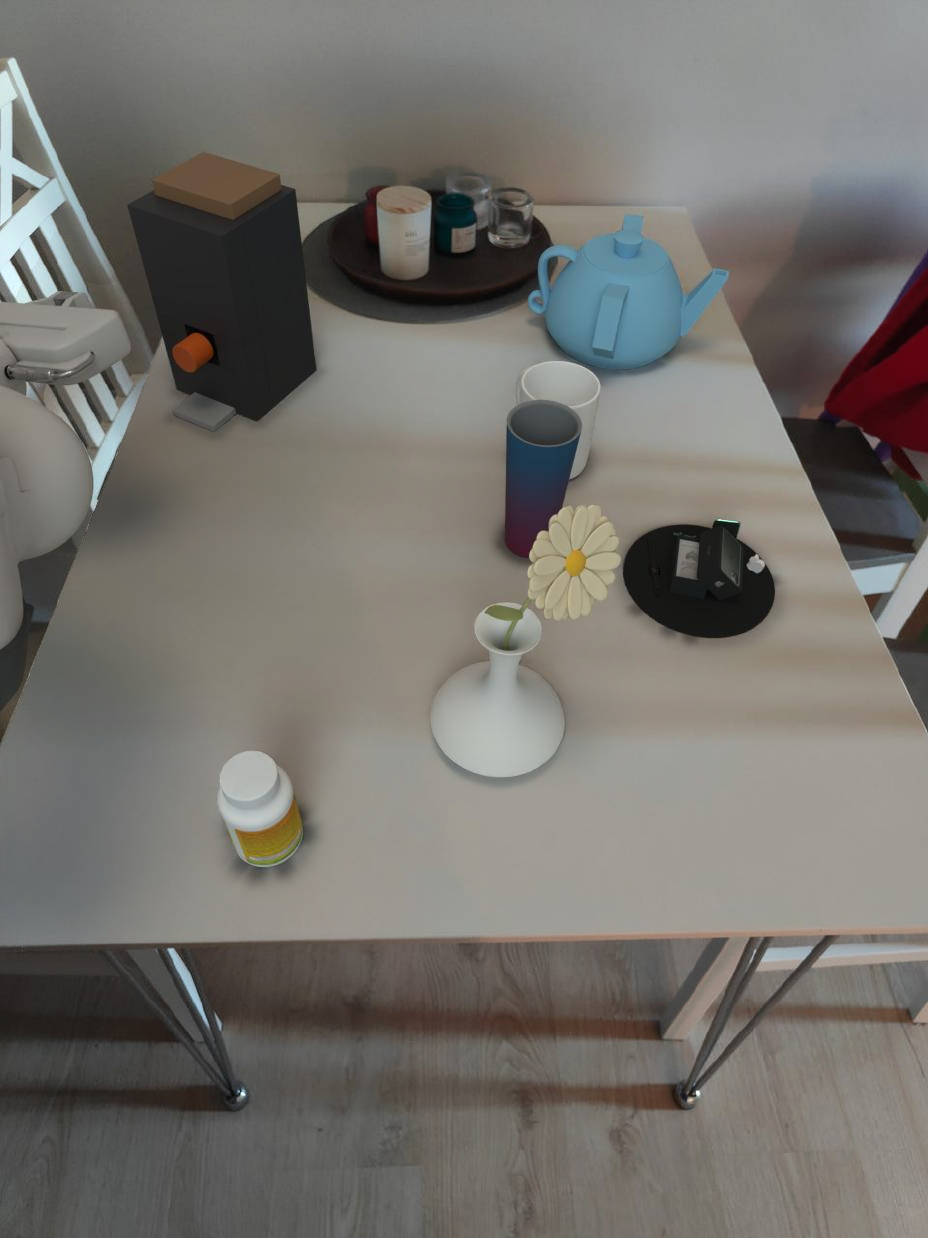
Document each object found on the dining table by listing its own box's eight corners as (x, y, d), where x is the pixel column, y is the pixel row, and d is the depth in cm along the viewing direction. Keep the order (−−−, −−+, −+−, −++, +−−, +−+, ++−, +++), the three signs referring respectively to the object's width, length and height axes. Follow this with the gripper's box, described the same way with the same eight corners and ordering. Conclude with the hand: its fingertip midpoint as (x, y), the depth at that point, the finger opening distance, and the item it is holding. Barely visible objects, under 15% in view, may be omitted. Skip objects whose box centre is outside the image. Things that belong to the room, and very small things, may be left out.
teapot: (589, 393, 104) (608, 287, 94) (510, 316, 115) (518, 213, 104) (711, 354, 111) (741, 251, 100) (625, 285, 121) (644, 185, 111)
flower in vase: (450, 801, 69) (460, 599, 49) (415, 689, 76) (412, 473, 56) (600, 764, 71) (664, 559, 52) (553, 659, 78) (595, 443, 59)
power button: (198, 376, 93) (192, 350, 91) (175, 367, 94) (169, 341, 92) (216, 362, 95) (210, 337, 93) (193, 354, 96) (187, 328, 94)
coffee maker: (235, 440, 97) (190, 236, 78) (153, 407, 100) (92, 203, 82) (316, 370, 106) (293, 172, 88) (239, 341, 109) (201, 145, 91)
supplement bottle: (318, 830, 67) (304, 768, 59) (268, 883, 64) (247, 825, 56) (268, 792, 69) (249, 727, 61) (219, 841, 66) (192, 780, 58)
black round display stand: (773, 652, 80) (793, 614, 75) (614, 620, 82) (624, 581, 77) (774, 541, 89) (791, 502, 85) (631, 515, 91) (641, 476, 87)
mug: (485, 430, 99) (490, 352, 91) (546, 412, 102) (556, 335, 94) (536, 493, 93) (546, 415, 85) (600, 472, 95) (616, 395, 87)
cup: (507, 569, 85) (520, 451, 74) (487, 523, 89) (497, 404, 78) (571, 558, 87) (593, 440, 75) (549, 513, 91) (567, 394, 79)
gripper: (45, 343, 64) (154, 269, 73) (-141, 326, 71) (-20, 260, 80) (80, 416, 69) (179, 339, 78) (-99, 394, 76) (11, 325, 85)
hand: (76, 299), depth 79 cm, fingers closed
